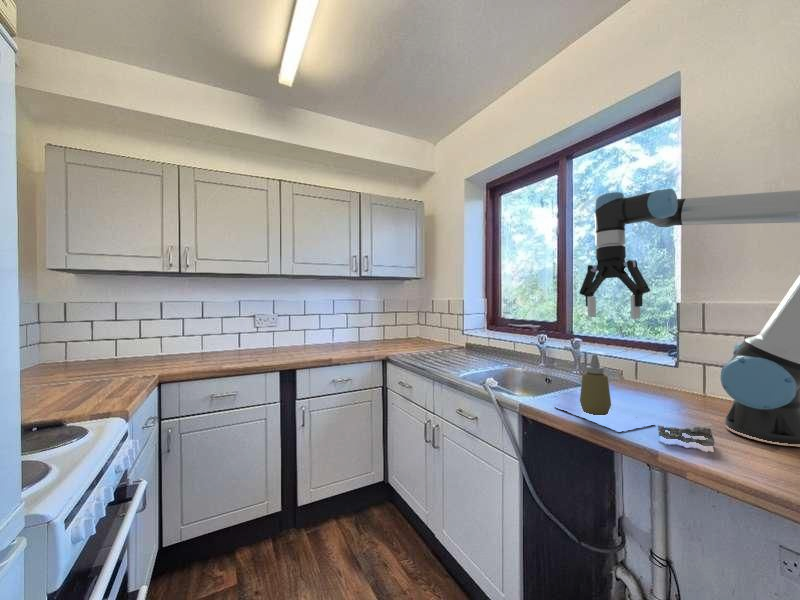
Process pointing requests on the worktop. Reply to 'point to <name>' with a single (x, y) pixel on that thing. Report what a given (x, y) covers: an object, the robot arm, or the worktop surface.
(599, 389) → the squeeze bottle
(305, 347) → the worktop surface
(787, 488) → the worktop surface
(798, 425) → the robot arm
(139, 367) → the worktop surface
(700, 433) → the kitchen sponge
